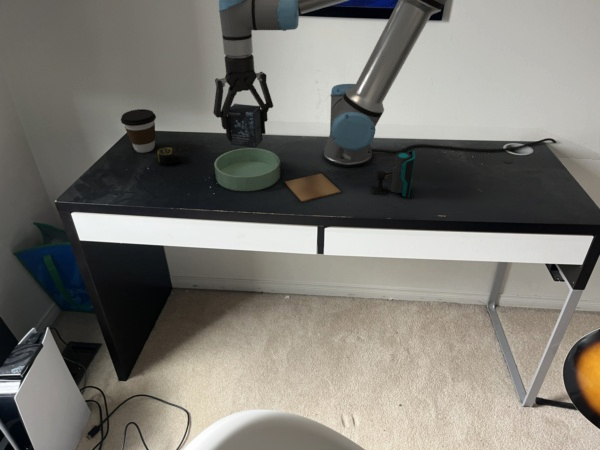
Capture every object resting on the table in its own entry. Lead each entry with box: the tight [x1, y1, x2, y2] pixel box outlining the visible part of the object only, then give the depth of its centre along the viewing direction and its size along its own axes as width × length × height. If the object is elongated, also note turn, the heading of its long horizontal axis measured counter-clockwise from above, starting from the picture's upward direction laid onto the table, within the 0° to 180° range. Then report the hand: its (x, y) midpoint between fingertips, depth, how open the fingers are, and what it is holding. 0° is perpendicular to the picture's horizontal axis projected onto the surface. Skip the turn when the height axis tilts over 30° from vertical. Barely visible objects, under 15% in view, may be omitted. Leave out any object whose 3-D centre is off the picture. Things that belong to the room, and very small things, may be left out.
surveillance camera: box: [372, 150, 416, 199], centre depth 130 cm, size 6×12×10 cm
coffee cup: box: [120, 108, 157, 154], centre depth 155 cm, size 11×11×12 cm
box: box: [227, 103, 263, 148], centre depth 133 cm, size 8×6×11 cm
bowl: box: [213, 147, 281, 192], centre depth 141 cm, size 19×19×4 cm
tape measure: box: [155, 146, 181, 165], centre depth 149 cm, size 7×7×4 cm
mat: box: [284, 173, 341, 203], centre depth 135 cm, size 12×12×1 cm
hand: (246, 135), depth 135 cm, fingers closed on box, 9 cm apart
